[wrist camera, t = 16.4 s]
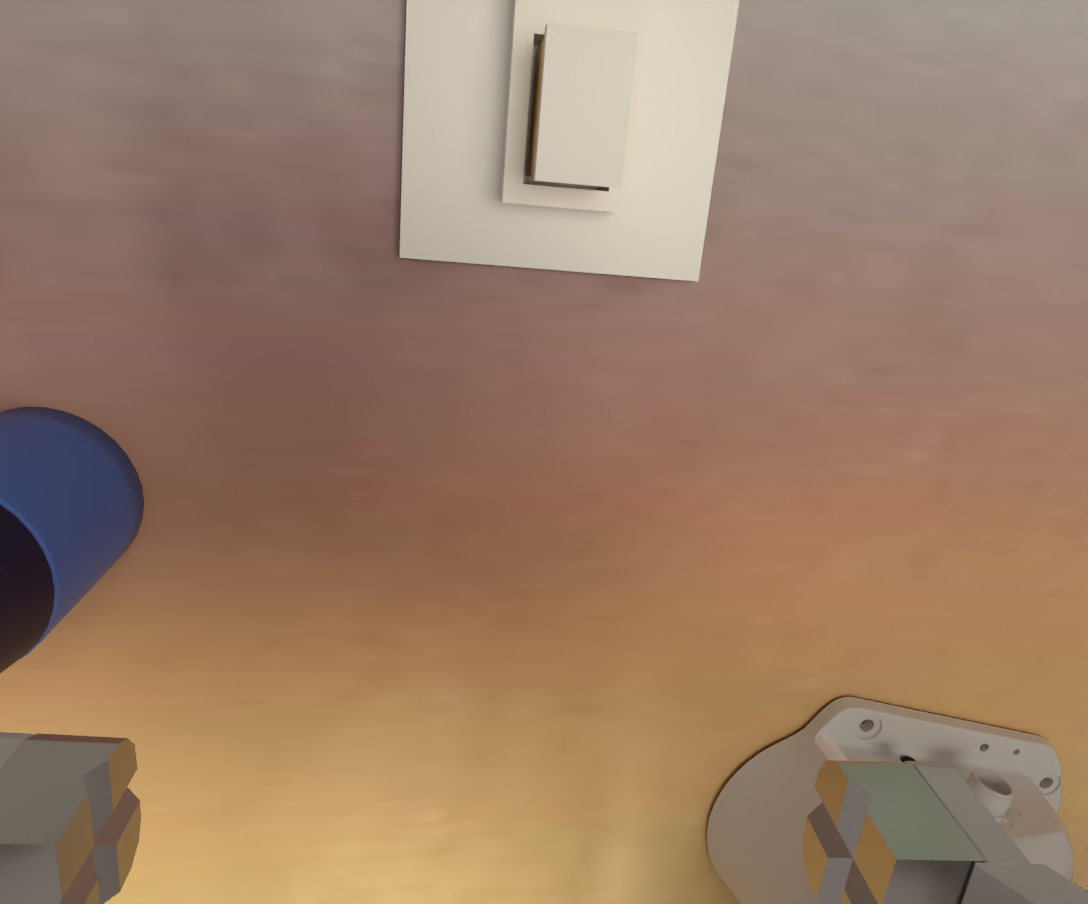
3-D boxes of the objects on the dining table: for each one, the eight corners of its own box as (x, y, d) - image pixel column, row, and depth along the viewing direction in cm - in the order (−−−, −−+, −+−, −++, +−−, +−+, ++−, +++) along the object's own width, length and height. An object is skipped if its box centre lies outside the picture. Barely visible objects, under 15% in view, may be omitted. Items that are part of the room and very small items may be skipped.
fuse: (607, 58, 35) (638, 32, 28) (594, 184, 36) (620, 188, 30) (533, 50, 34) (547, 22, 28) (524, 178, 36) (534, 180, 30)
